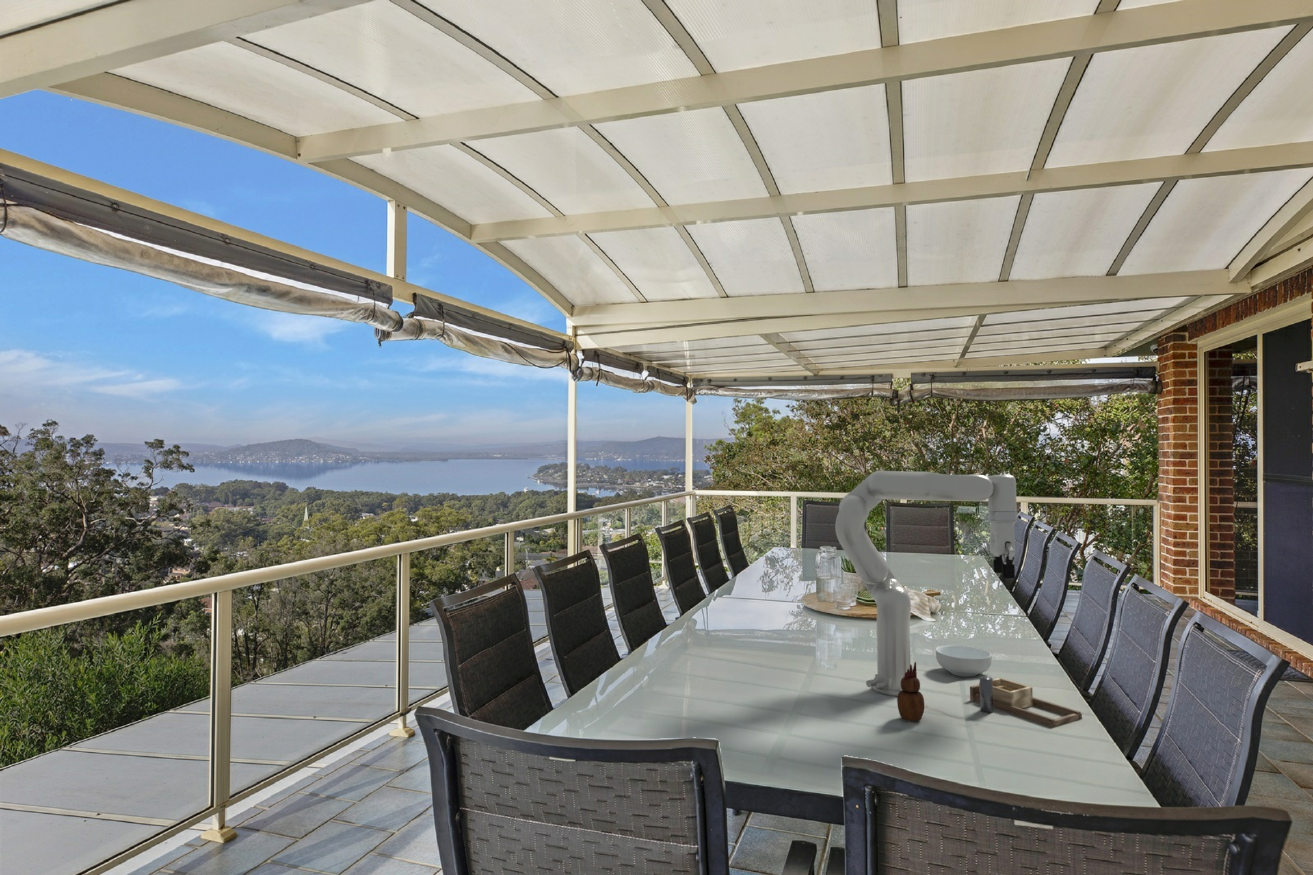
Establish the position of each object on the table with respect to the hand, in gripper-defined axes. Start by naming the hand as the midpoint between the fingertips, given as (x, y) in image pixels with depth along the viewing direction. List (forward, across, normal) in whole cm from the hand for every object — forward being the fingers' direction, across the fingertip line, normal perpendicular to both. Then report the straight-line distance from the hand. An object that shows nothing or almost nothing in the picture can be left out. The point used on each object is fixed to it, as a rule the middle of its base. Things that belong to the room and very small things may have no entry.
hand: (1004, 575), depth 216 cm
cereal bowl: (+35, -21, -8) cm, 41 cm away
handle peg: (+35, +19, -10) cm, 41 cm away
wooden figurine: (+35, +26, -30) cm, 53 cm away
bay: (+35, +16, 0) cm, 38 cm away
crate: (+34, +11, -3) cm, 36 cm away
